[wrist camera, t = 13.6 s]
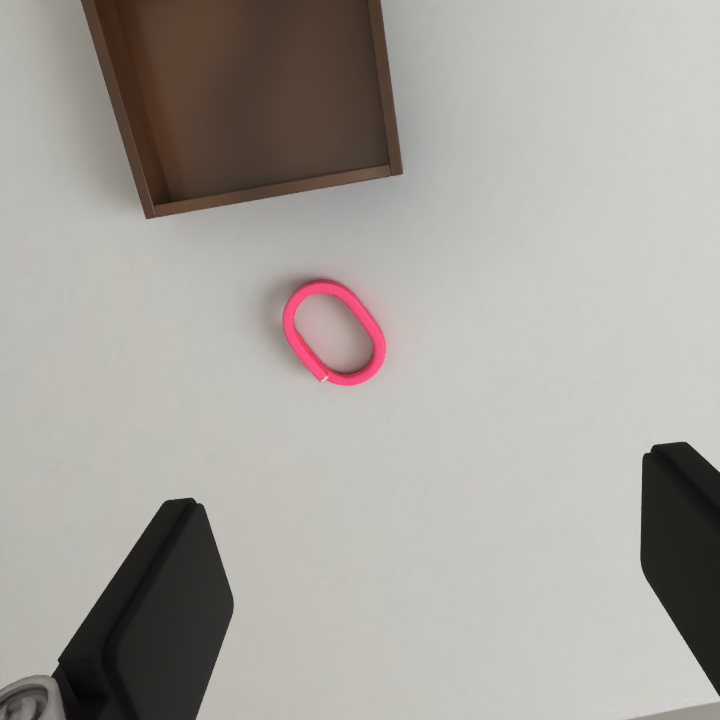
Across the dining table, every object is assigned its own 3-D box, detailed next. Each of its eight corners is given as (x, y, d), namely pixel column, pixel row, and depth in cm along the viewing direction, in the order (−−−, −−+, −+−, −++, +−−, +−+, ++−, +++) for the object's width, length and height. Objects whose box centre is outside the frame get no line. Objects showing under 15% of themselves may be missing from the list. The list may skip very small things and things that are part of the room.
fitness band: (268, 310, 37) (263, 316, 35) (332, 261, 35) (330, 265, 34) (337, 395, 39) (335, 404, 37) (401, 352, 37) (401, 360, 36)
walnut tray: (368, -80, 29) (366, -110, 26) (401, 173, 33) (403, 174, 30) (101, -19, 30) (68, -40, 27) (167, 214, 35) (145, 219, 32)
